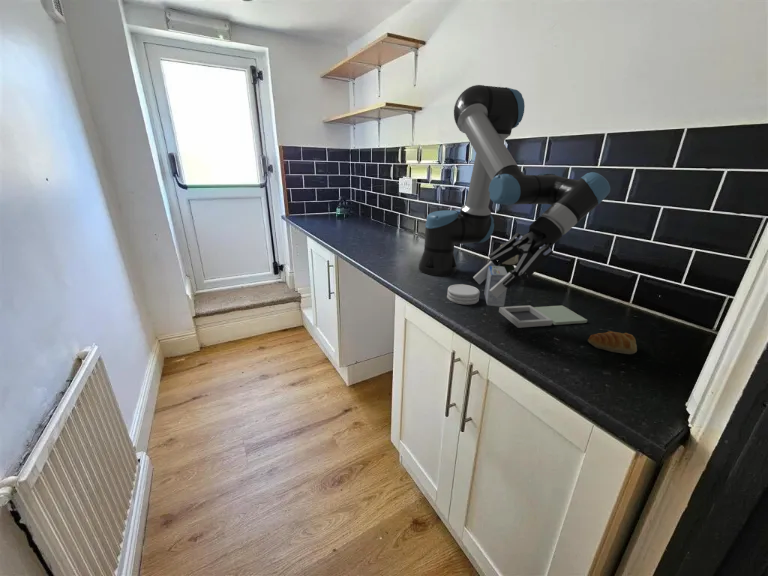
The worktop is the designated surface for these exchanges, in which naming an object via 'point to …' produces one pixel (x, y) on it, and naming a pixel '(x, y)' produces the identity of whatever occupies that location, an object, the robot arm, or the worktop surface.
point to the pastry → (614, 342)
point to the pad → (561, 315)
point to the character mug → (510, 263)
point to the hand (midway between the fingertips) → (484, 287)
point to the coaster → (463, 294)
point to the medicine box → (492, 279)
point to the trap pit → (525, 316)
